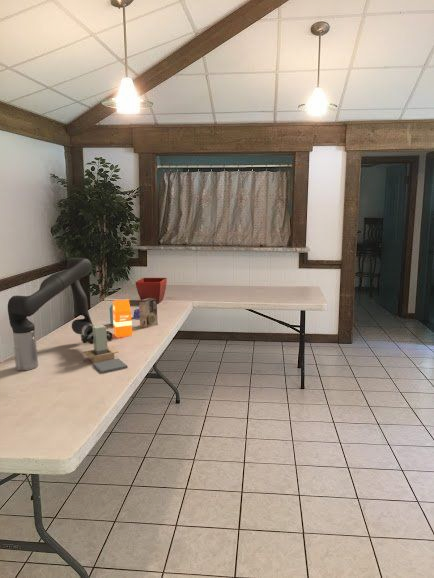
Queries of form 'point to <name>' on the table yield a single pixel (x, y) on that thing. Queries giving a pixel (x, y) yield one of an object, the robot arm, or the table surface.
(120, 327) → the orange juice
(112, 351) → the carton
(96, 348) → the box
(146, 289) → the plant pot
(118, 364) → the slate mat
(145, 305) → the coffee box
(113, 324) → the data package
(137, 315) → the pudding
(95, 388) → the table surface
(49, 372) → the table surface
